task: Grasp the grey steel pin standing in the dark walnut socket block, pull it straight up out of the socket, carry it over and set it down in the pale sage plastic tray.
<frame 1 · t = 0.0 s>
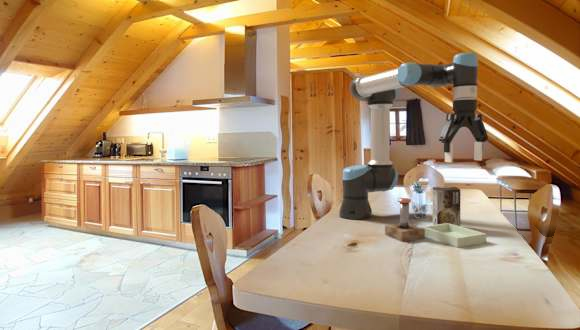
hand: (463, 161, 126), 28 cm above the table, fingers open, 13 cm apart
tray: (452, 238, 130), on the table
pin: (404, 217, 134), in the socket block
coffee box: (445, 228, 146), on the table
socket block: (404, 236, 134), on the table
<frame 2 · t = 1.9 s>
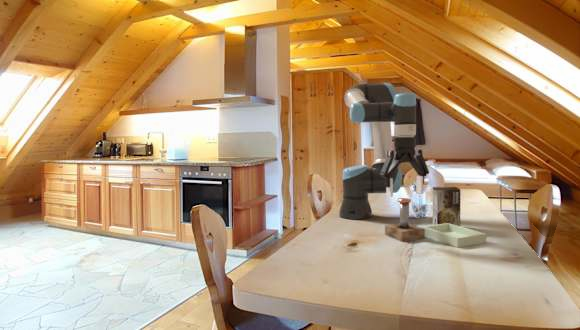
hand: (404, 194, 133), 16 cm above the table, fingers open, 13 cm apart
nothing on the table moved.
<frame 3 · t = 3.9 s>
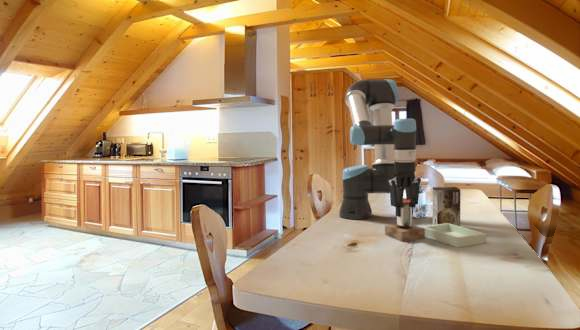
hand: (404, 224, 134), 5 cm above the table, fingers closed on pin, 3 cm apart
pin: (404, 217, 134), in the socket block, touching gripper
everything else where it was.
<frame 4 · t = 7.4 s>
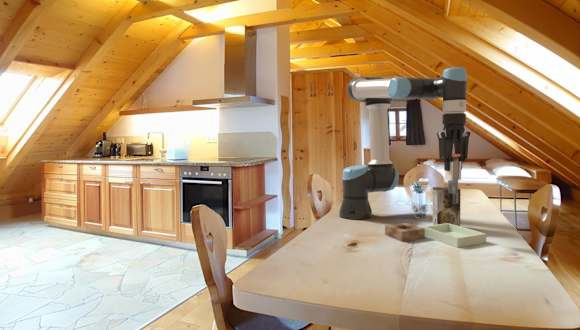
hand: (453, 179, 129), 21 cm above the table, fingers closed on pin, 3 cm apart
pin: (453, 173, 128), point 24 cm above the table, touching gripper
everything else where it was.
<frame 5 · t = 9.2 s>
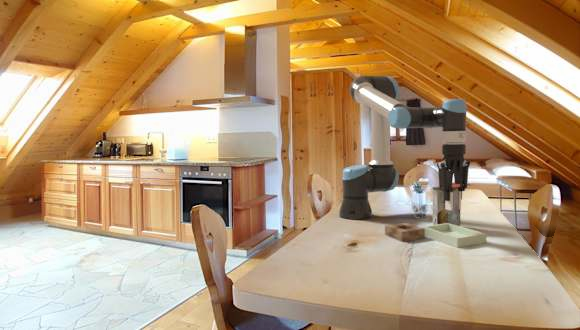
hand: (453, 209, 129), 11 cm above the table, fingers closed on pin, 3 cm apart
pin: (453, 203, 129), point 13 cm above the table, touching gripper
everything else where it was.
when the fingers open (6 cm above the table, at t = 10.8 s): pin stays where it is, resting on tray.
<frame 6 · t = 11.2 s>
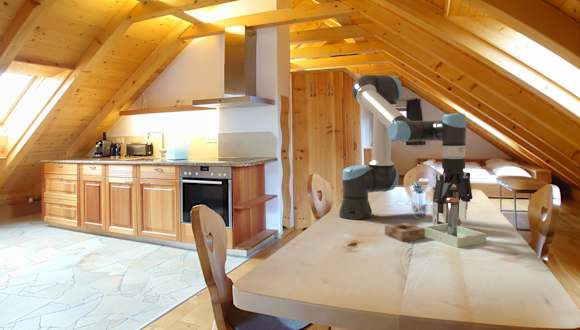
hand: (452, 220, 130), 7 cm above the table, fingers open, 9 cm apart
pin: (452, 217, 130), in the tray, point 8 cm above the table
everything else where it was.
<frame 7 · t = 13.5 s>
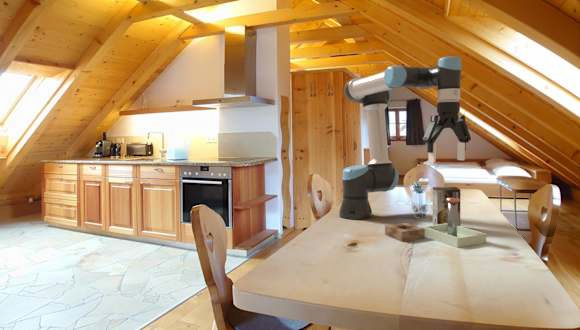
hand: (446, 161, 131), 28 cm above the table, fingers open, 13 cm apart
nothing on the table moved.
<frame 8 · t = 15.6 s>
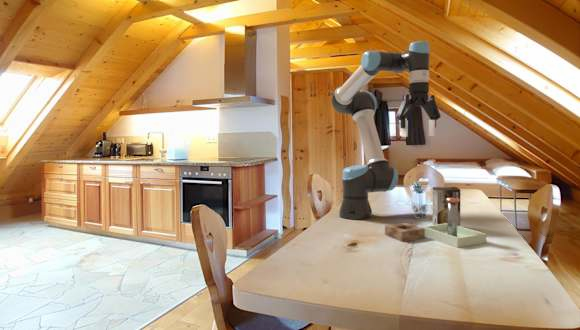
hand: (418, 136, 145), 37 cm above the table, fingers open, 13 cm apart
nothing on the table moved.
at the end: pin inside the target area on the tray (0.0 cm from its centre), point 7.6 cm above the tray's base; pin touching tray; the gripper is holding nothing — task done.
